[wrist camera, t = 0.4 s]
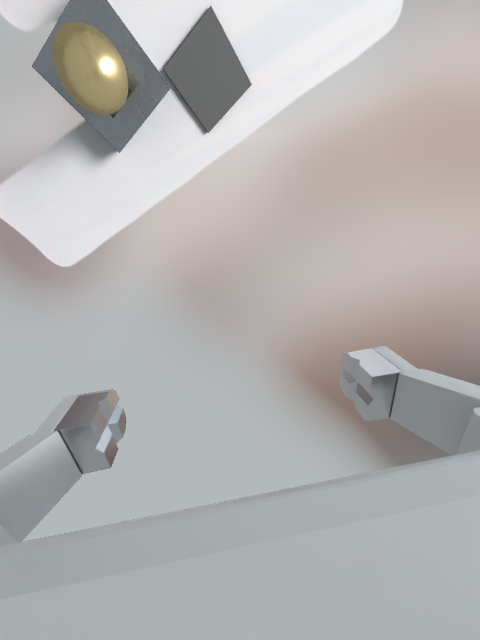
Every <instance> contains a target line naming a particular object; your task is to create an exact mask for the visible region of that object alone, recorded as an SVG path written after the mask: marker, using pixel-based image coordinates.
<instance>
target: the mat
mask: <svg viewBox="0 0 480 640" xmlns="http://www.w3.org/2000/svg"><path fill="white" fill-rule="evenodd" d="M163 70H164V71H165V73H166V74H167V75H168V77H169V78H170V80H171V81H172V82H173V84H174V85H175V87H176V88H177V89H178V91H179V92H180V94H181V95H182V97H183V98H184V99H185V101H186V102H187V104H188V105H189V106H190V108H191V109H192V111H193V112H194V113H195V115H196V116H197V118H198V119H199V121H200V122H201V123H202V125H203V126H204V128H205V129H206V130H207V132H208V133H209V132H210V131H211V129H212V128H213V127H214V126H215V125H216V124H217V123H218V122H219V120H220V119H221V118H222V117H223V116H224V115H225V114H226V113H227V111H228V110H229V109H230V108H231V107H232V106H233V105H234V104H235V103H236V101H237V100H238V99H239V98H240V97H241V96H242V95H243V94H244V92H245V91H246V90H247V89H248V88H249V87H250V86H251V85H252V84H251V82H250V80H249V78H248V77H247V75H246V73H245V71H244V69H243V67H242V65H241V63H240V61H239V59H238V57H237V55H236V53H235V51H234V49H233V48H232V46H231V44H230V42H229V40H228V38H227V36H226V34H225V32H224V30H223V28H222V26H221V24H220V22H219V21H218V19H217V17H216V15H215V13H214V11H213V9H212V7H211V6H210V8H209V9H208V10H207V12H206V13H205V14H204V15H203V17H202V18H201V19H200V21H199V22H198V23H197V25H196V26H195V27H194V29H193V30H192V31H191V33H190V34H189V35H188V37H187V38H186V39H185V41H184V42H183V43H182V45H181V46H180V47H179V49H178V50H177V51H176V53H175V54H174V55H173V56H172V58H171V59H170V60H169V62H168V63H167V64H166V66H165V67H164V68H163Z"/></svg>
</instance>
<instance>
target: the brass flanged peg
mask: <svg viewBox="0 0 480 640" xmlns="http://www.w3.org/2000/svg"><path fill="white" fill-rule="evenodd" d="M53 60H54V65H55V68H56V72H57V74H58V77H59V79H60V81H61V83H62V85H63V86H64V88H65V89H66V91H67V92H68V93H69V95H70V96H71V97H72V98H73V99H74V100H75V101H76V102H77V103H78V104H79V105H81V106H82V107H83V108H85V109H87V110H88V111H91V112H93V113H96V114H100V115H107V114H112V113H114V112H116V111H118V110H119V109H120V108H121V107H122V106H123V105H124V103H125V101H126V99H127V95H128V87H129V85H128V77H127V72H126V69H125V66H124V63H123V61H122V59H121V57H120V55H119V53H118V51H117V50H116V48H115V47H114V46H113V44H112V43H111V42H110V41H109V40H108V38H107V37H106V36H105V35H104V34H102V33H101V32H100V31H99V30H97V29H96V28H94V27H92V26H90V25H88V24H85V23H82V22H71V23H68V24H66V25H64V26H62V27H61V28H60V29H59V31H58V32H57V34H56V36H55V39H54V42H53Z"/></svg>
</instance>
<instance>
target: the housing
mask: <svg viewBox="0 0 480 640" xmlns="http://www.w3.org/2000/svg"><path fill="white" fill-rule="evenodd" d="M71 22H82V23H85V24H88V25H90V26H92V27H94V28H96V29H97V30H99V31H100V32H101V33H102V34H104V35H105V36H106V37H107V38H108V40H109V41H110V42H111V43H112V44H113V46H114V47H115V48H116V50H117V51H118V53H119V55H120V57H121V59H122V61H123V63H124V66H125V69H126V72H127V77H128V85H129V87H128V95H127V99H126V101H125V103H124V105H123V106H122V107H121V108H120V109H119V110H118V111H116V112H114V113H112V114H107V115H100V114H96V113H93V112H91V111H88V110H87V109H85V108H83V107H82V106H81V105H79V104H78V103H77V102H76V101H75V100H74V99H73V98H72V97H71V96H70V95H69V93H68V92H67V91H66V89H65V88H64V86H63V85H62V83H61V81H60V79H59V77H58V74H57V72H56V68H55V65H54V60H53V42H54V39H55V36H56V34H57V32H58V31H59V29H60V28H61V27H62V26H64V25H66V24H68V23H71ZM32 67H33V68H34V69H35V70H36V71H37V72H38V73H39V74H40V75H41V76H42V77H43V78H44V79H45V80H46V81H47V82H48V83H49V84H50V85H51V86H52V87H53V88H54V89H55V90H56V91H57V92H58V93H59V94H60V95H61V96H62V97H63V98H64V99H65V100H66V101H67V102H68V103H69V104H70V105H72V106H73V107H74V108H75V109H76V110H77V111H78V112H79V113H80V114H81V115H82V116H83V117H84V118H85V119H86V120H87V121H88V122H89V123H90V124H91V125H92V126H93V127H94V128H95V129H96V130H97V131H98V132H99V133H100V134H101V135H102V136H103V137H104V138H105V139H106V140H107V141H108V142H109V143H110V144H111V145H112V146H113V147H114V148H115V149H116V150H117V151H118V152H119V153H120V152H121V151H122V149H123V148H124V147H125V145H126V144H127V143H128V142H129V140H130V139H131V138H132V137H133V135H134V134H135V133H136V131H137V130H138V129H139V128H140V126H141V125H142V124H143V123H144V121H145V120H146V119H147V117H148V116H149V115H150V114H151V112H152V111H153V110H154V109H155V107H156V106H157V105H158V103H159V102H160V101H161V100H162V98H163V97H164V96H165V95H166V93H167V92H168V91H169V90H170V87H169V85H168V84H167V83H166V81H165V80H164V78H163V77H162V76H161V74H160V73H159V71H158V70H157V69H156V67H155V66H154V65H153V63H152V62H151V60H150V59H149V58H148V56H147V55H146V54H145V52H144V51H143V49H142V48H141V47H140V45H139V44H138V42H137V41H136V40H135V38H134V37H133V36H132V34H131V33H130V31H129V30H128V29H127V27H126V26H125V24H124V23H123V22H122V20H121V19H120V18H119V16H118V15H117V13H116V12H115V11H114V9H113V8H112V7H111V5H110V4H109V2H108V1H107V0H70V1H69V3H68V5H67V6H66V8H65V10H64V12H63V13H62V15H61V17H60V18H59V20H58V22H57V24H56V25H55V27H54V29H53V31H52V32H51V34H50V36H49V37H48V39H47V41H46V43H45V44H44V46H43V48H42V50H41V51H40V53H39V55H38V56H37V58H36V60H35V62H34V63H33V65H32Z"/></svg>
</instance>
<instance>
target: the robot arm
mask: <svg viewBox="0 0 480 640" xmlns="http://www.w3.org/2000/svg"><path fill="white" fill-rule="evenodd" d="M340 363H341V364H342V365H343V366H344V368H343V369H342V370H341V372H340V375H339V381H340V386H341V389H342V391H343V393H344V394H345V396H346V397H347V398H348V399H350V400H353V401H355V406H354V407H355V408H356V410H357V411H358V412H359V413H360V415H361V416H362V417H363V418H364V419H365V421H371V420H377V419H384V418H390V419H391V420H393V421H395V422H396V423H398V424H400V425H402V426H403V427H405V428H407V429H408V430H410V431H412V432H414V433H415V434H417V435H419V436H420V437H422V438H424V439H425V440H427V441H429V442H430V443H432V444H434V445H436V446H437V447H439V448H441V449H442V450H444V451H446V452H447V453H449V454H451V455H452V456H448V457H443V458H438V459H433V460H428V461H423V462H418V463H413V464H408V465H403V466H398V467H393V468H388V469H383V470H378V471H374V472H368V473H363V474H358V475H354V476H348V477H343V478H339V479H334V480H328V481H324V482H318V483H314V484H309V485H304V486H299V487H294V488H289V489H284V490H279V491H274V492H269V493H264V494H259V495H254V496H249V497H244V498H239V499H234V500H229V501H224V502H219V503H214V504H209V505H204V506H199V507H194V508H189V509H184V510H179V511H174V512H169V513H164V514H159V515H154V516H149V517H144V518H140V519H134V520H129V521H125V522H119V523H114V524H109V525H104V526H100V527H94V528H90V529H84V530H79V531H74V532H69V533H64V534H59V535H54V536H49V537H45V538H40V539H34V540H29V541H25V542H22V541H23V540H24V539H25V538H26V537H27V535H28V534H29V533H30V532H31V531H32V530H33V529H34V528H35V527H36V526H37V524H38V523H39V522H40V521H41V520H42V519H43V518H44V517H45V516H46V515H47V514H48V513H49V511H50V510H51V509H52V508H53V507H54V506H55V505H56V504H57V503H58V502H59V501H60V499H61V498H62V497H63V496H64V495H65V494H66V493H67V492H68V491H69V490H70V488H71V487H72V486H73V485H74V484H75V483H76V482H77V481H78V480H79V479H80V478H81V476H82V474H85V473H90V472H94V471H99V470H104V469H109V468H111V466H112V464H113V461H114V459H115V456H116V454H117V451H118V447H117V445H116V443H117V442H118V441H119V440H120V439H121V438H122V437H123V435H124V433H125V429H126V416H125V412H124V409H123V408H121V407H120V406H118V405H117V403H118V401H119V397H118V394H117V392H116V391H115V390H113V389H112V390H105V391H97V392H90V393H84V394H76V395H70V396H66V397H64V398H63V399H62V400H61V401H60V403H59V404H58V405H57V406H56V407H55V408H54V410H53V411H52V412H51V413H50V415H49V416H48V417H47V418H46V420H45V421H44V422H43V423H42V424H41V426H40V427H39V428H38V429H37V431H36V432H35V433H34V434H33V435H29V436H26V437H25V438H23V439H22V440H20V441H19V442H17V443H16V444H15V445H13V446H11V447H10V448H8V449H7V450H5V451H3V452H2V453H0V640H480V386H478V385H475V384H472V383H468V382H465V381H461V380H458V379H455V378H451V377H448V376H445V375H441V374H438V373H435V372H431V371H428V370H425V369H420V370H418V369H417V368H415V367H414V366H413V365H411V364H410V363H408V362H407V361H405V360H404V359H403V358H401V357H400V356H399V355H397V354H396V353H394V352H393V351H391V350H390V349H389V348H387V347H385V346H378V347H373V348H369V349H364V350H358V351H353V352H346V353H343V354H342V356H341V362H340Z"/></svg>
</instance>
